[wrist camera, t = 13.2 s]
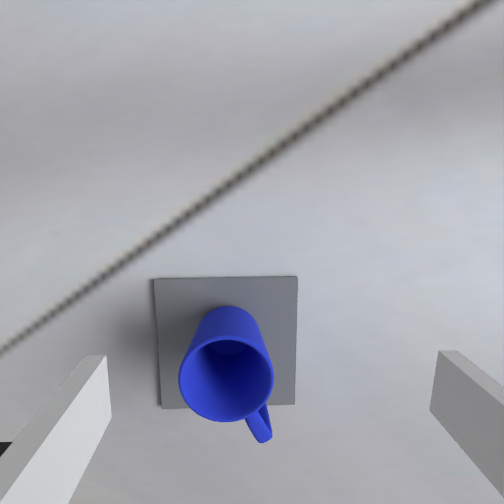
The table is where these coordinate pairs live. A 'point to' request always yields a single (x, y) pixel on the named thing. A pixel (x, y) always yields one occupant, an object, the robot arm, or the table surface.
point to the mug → (229, 371)
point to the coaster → (217, 295)
